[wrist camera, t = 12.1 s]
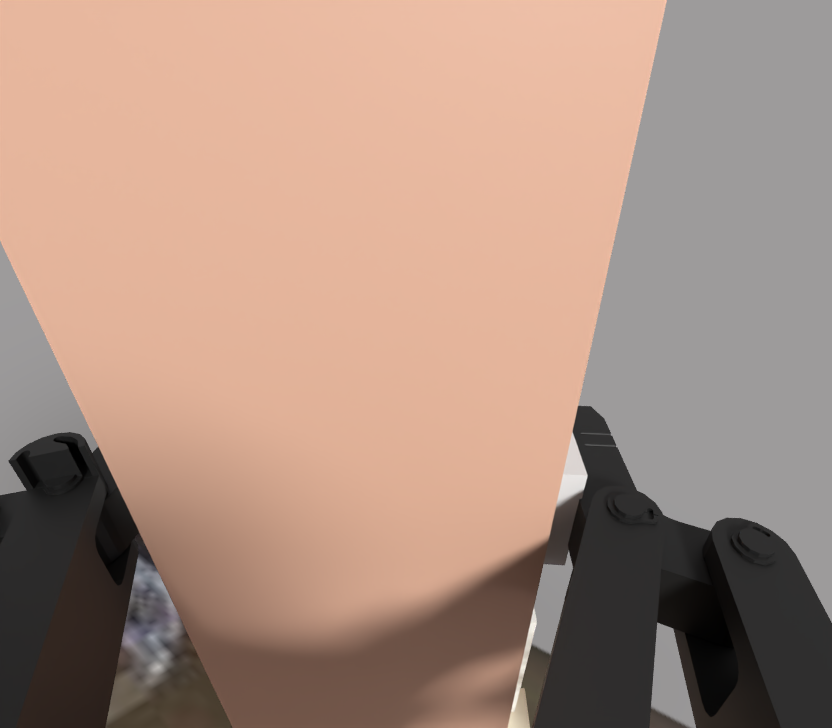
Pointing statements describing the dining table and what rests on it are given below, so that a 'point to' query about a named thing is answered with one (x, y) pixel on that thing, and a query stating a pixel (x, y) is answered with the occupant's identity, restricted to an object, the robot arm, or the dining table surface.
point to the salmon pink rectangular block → (328, 314)
